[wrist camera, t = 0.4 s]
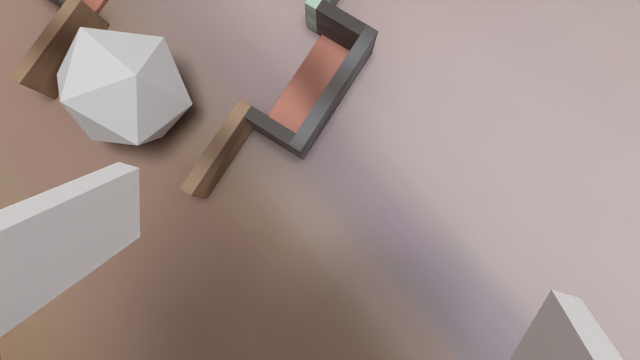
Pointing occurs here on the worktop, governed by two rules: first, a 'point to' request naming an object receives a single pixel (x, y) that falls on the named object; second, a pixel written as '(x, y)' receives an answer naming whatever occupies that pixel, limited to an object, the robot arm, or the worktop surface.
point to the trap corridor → (280, 125)
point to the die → (121, 86)
